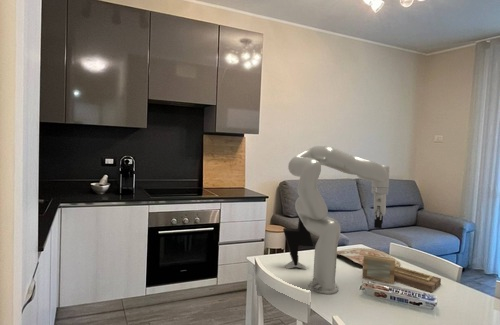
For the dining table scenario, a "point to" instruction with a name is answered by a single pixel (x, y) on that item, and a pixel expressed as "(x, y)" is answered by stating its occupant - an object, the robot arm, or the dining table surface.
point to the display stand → (416, 279)
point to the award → (297, 243)
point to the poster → (358, 254)
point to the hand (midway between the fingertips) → (378, 225)
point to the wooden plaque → (378, 268)
